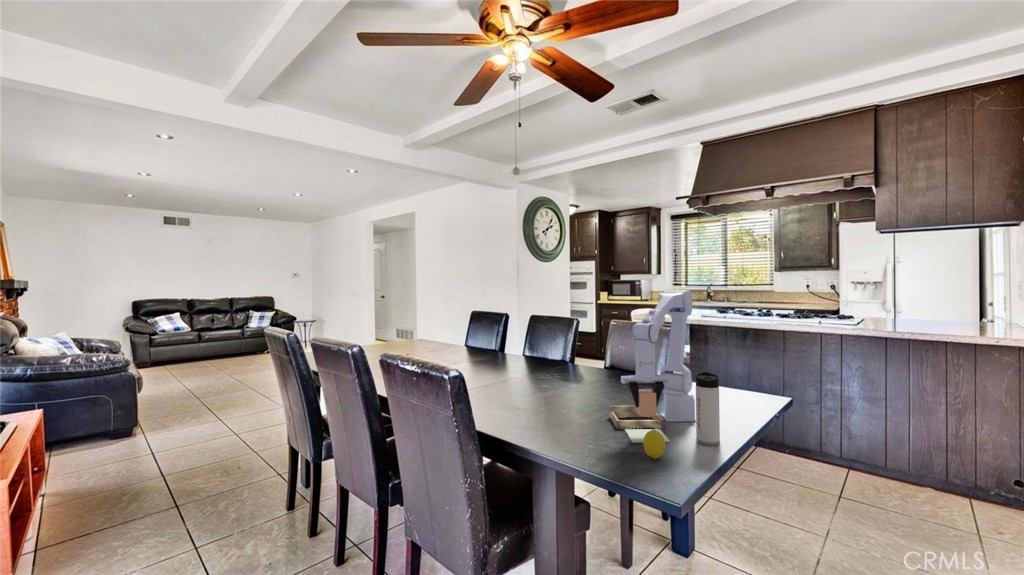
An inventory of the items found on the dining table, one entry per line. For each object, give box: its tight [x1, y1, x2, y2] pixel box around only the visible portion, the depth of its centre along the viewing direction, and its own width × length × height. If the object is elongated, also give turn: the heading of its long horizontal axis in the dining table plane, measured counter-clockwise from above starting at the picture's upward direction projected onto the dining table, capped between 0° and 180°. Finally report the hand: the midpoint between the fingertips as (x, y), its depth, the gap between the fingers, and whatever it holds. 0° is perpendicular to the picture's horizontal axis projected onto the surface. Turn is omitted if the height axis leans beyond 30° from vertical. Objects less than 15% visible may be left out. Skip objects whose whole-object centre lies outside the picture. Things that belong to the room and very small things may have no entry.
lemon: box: [642, 428, 666, 460], centre depth 116 cm, size 6×6×8 cm
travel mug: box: [695, 371, 721, 447], centre depth 128 cm, size 6×7×20 cm
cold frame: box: [609, 405, 665, 430], centre depth 146 cm, size 15×12×4 cm
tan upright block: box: [636, 388, 658, 416], centre depth 134 cm, size 5×5×7 cm
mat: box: [624, 428, 671, 444], centre depth 133 cm, size 11×10×1 cm
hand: (645, 406), depth 133 cm, fingers closed on tan upright block, 5 cm apart
